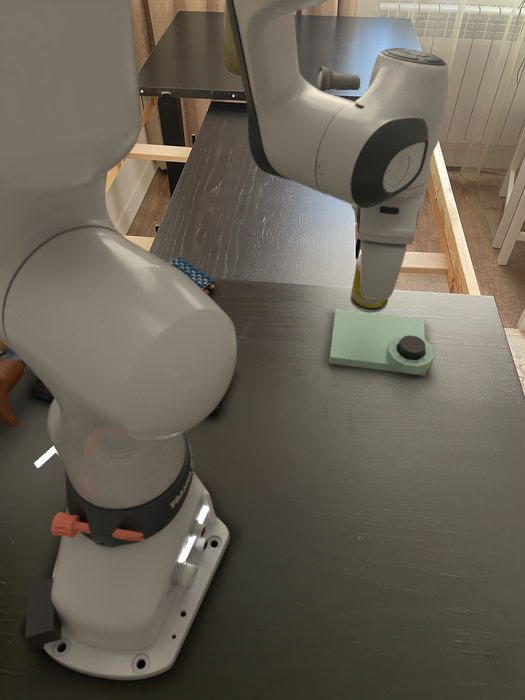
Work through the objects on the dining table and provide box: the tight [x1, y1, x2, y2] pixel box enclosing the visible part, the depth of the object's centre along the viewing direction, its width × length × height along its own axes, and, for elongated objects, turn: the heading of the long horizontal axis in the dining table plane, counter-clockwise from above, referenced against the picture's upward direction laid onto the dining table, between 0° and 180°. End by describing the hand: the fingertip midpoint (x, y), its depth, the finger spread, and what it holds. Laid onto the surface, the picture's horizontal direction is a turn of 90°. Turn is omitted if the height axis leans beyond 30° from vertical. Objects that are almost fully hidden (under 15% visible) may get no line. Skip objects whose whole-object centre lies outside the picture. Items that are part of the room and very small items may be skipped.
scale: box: [328, 308, 435, 377], centre depth 81 cm, size 12×15×3 cm
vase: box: [222, 0, 241, 76], centre depth 156 cm, size 17×17×27 cm
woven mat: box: [168, 256, 215, 295], centre depth 91 cm, size 10×11×2 cm
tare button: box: [398, 336, 425, 360], centre depth 77 cm, size 4×4×2 cm
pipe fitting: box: [316, 66, 361, 91], centre depth 153 cm, size 12×8×10 cm
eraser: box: [30, 377, 54, 402], centre depth 74 cm, size 11×4×2 cm, turn 71°
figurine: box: [0, 340, 27, 428], centre depth 77 cm, size 20×10×30 cm
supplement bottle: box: [350, 254, 389, 314], centre depth 75 cm, size 5×5×10 cm
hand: (371, 282), depth 76 cm, fingers closed on supplement bottle, 5 cm apart
